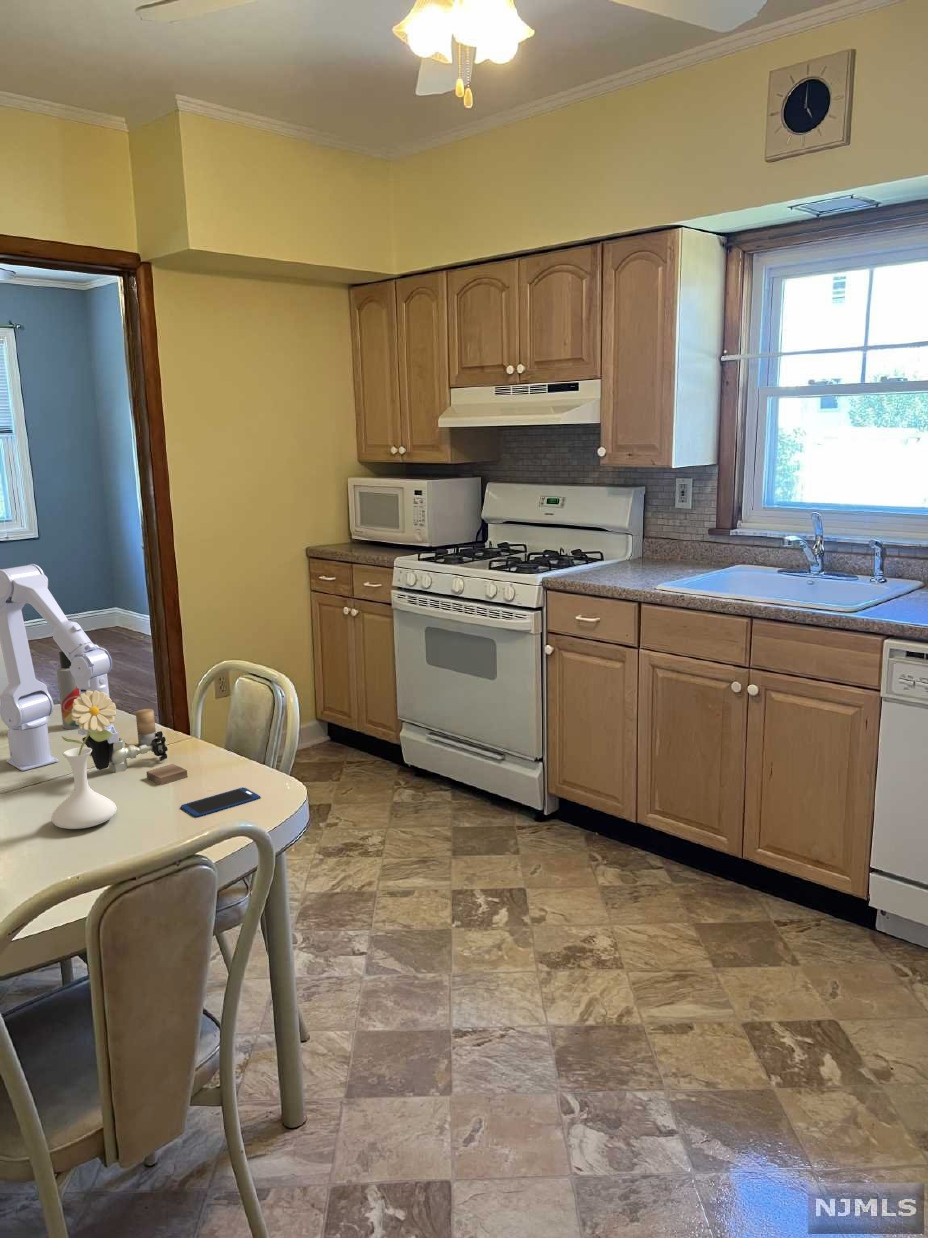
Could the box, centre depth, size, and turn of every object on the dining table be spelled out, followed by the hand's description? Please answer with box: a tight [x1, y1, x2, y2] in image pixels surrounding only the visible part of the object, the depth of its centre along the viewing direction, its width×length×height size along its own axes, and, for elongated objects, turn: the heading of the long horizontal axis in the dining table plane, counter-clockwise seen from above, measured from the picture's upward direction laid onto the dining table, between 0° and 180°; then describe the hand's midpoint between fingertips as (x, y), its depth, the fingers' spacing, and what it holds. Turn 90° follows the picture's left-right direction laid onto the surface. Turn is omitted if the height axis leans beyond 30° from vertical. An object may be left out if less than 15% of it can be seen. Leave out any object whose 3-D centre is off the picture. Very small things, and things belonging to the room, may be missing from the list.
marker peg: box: [135, 708, 157, 747], centre depth 215 cm, size 4×4×8 cm
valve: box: [108, 730, 169, 773], centre depth 201 cm, size 7×7×12 cm
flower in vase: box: [51, 690, 118, 830], centre depth 170 cm, size 13×11×25 cm
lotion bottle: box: [56, 649, 80, 730], centre depth 229 cm, size 6×6×20 cm
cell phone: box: [180, 786, 261, 819], centre depth 179 cm, size 7×14×1 cm, turn 131°
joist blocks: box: [125, 742, 188, 786], centre depth 203 cm, size 33×6×2 cm, turn 46°
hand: (102, 768), depth 196 cm, fingers closed, pressing on valve
